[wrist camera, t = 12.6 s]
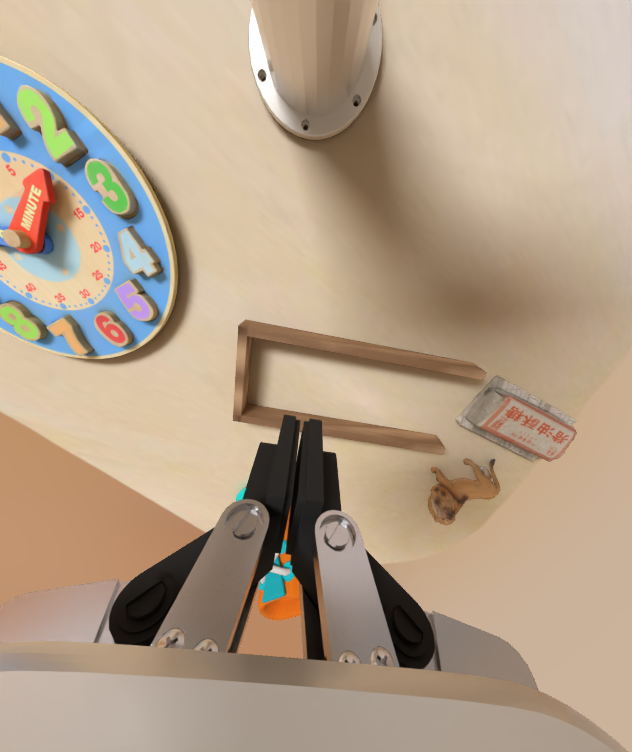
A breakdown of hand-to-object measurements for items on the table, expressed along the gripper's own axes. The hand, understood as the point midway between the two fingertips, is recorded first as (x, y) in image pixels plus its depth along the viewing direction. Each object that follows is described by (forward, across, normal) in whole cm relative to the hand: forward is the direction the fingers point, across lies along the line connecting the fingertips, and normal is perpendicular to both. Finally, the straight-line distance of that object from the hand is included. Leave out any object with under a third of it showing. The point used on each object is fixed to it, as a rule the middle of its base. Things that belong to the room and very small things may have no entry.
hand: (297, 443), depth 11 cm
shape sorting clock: (+28, +33, -3) cm, 43 cm away
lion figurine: (+27, -32, +25) cm, 49 cm away
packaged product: (+27, -37, +11) cm, 48 cm away
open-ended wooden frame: (+27, -8, +10) cm, 30 cm away
